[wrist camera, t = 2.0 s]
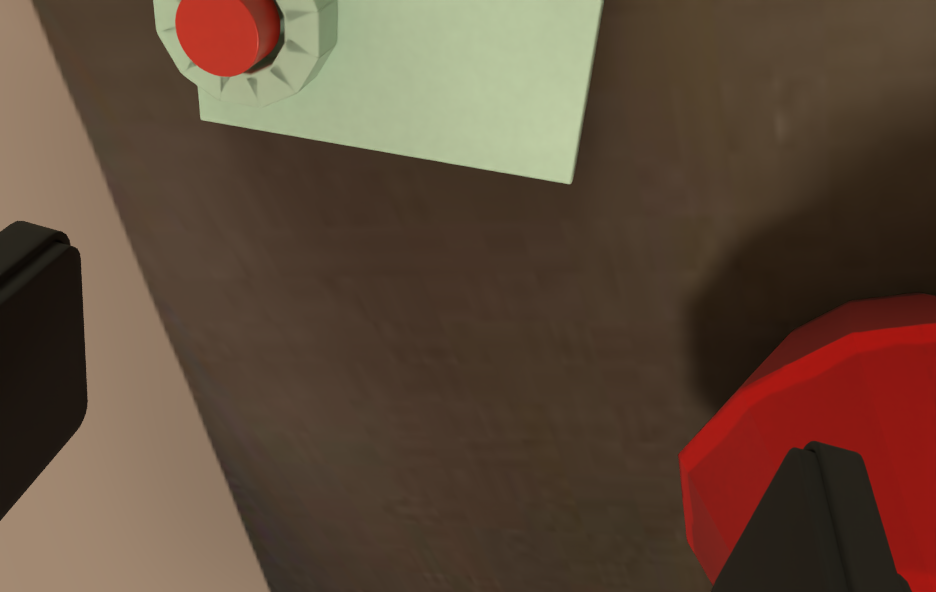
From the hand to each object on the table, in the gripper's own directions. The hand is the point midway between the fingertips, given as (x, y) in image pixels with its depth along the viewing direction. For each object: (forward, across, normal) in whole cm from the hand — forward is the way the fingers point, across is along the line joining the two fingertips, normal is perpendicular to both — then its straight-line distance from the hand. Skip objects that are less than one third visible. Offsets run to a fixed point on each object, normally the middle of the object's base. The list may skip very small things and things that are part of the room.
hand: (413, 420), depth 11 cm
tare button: (+19, +10, +2) cm, 21 cm away
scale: (+21, +5, +2) cm, 22 cm away
